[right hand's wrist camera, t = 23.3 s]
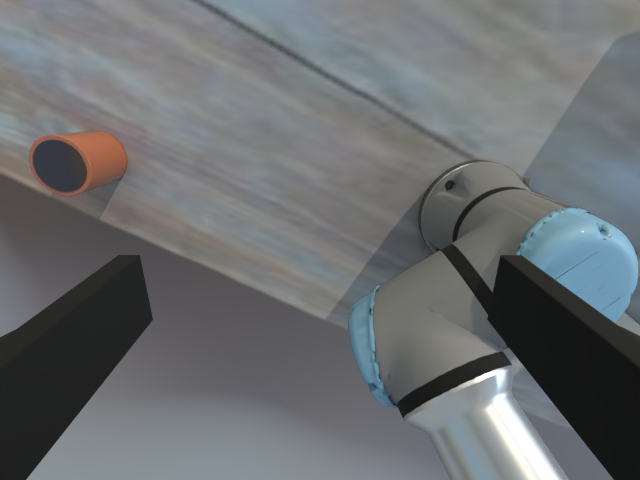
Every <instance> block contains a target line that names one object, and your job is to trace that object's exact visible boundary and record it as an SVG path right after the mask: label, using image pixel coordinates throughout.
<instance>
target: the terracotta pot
mask: <svg viewBox="0 0 640 480" xmlns="http://www.w3.org/2000/svg"><path fill="white" fill-rule="evenodd" d="M29 163H30V167H31V170H32V172H33V174H34V175H35V177H36V178H37V180H38V181H39V182H40V183H41V184H42V185H43V186H44V187H45V188H47V189H48V190H50V191H52V192H54V193H56V194H59V195H64V196H74V195H78V194H80V193H83V192H86V191H89V190H92V189H95V188H97V187H100V186H103V185H106V184H109V183H111V182H114V181H117V180H118V179H120V178H121V177H122V176H123V175H124V173H125V171H126V168H127V157H126V153H125V151H124V149H123V147H122V146H121V144H120V143H119V142H118V141H117V140H116V139H115V138H114V137H113V136H111V135H109V134H107V133H105V132H102V131H85V132H75V133H65V134H54V135H46V136H43V137H41V138H39V139H38V140H36V141H35V142H34V144H33V145H32V147H31V149H30V153H29Z"/></svg>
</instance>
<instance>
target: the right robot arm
mask: <svg viewBox="0 0 640 480" xmlns="http://www.w3.org/2000/svg"><path fill="white" fill-rule="evenodd" d="M529 180H530V179H528V178H525V177H523V178H522V177H521V176H520V175H519V174H517V173H516V172H515V171H513V170H512V169H510V168H509V167H507V166H504V165H502V164H499V163H495V162H491V161H483V160H478V161H469V162H465V163H462V164H459V165H457V166H455V167H453V168H451V169H449V170H447V171H446V172H444V173H443V174H442V175H441V176H439V177H438V178H437V179H436V180H435V181H434V183H433V184H432V185H431V186H430V188H429V189H428V191H427V192H426V194H425V196H424V198H423V201H422V203H421V207H420V212H419V226H420V231H421V234H422V236H423V239H424V240H425V242H426V244H427V245H428V246H429V248H430V249H431V250H432V251H433V252H434V254H432V255H431V256H429V257H428V258H426V259H424V260H423V261H421V262H419V263H417V264H416V265H414V266H412V267H411V268H409V269H407V270H405V271H404V272H402V273H400V274H399V275H397V276H395V277H393V278H392V279H390V280H388V281H387V282H385V283H383V284H379V285H377V286H376V287H375V288H374V290H373V291H371V292H370V293H368V294H367V295H365V296H364V297H362V298H361V299H359V300H358V301H357V302H356V303H355V304H354V305H353V306H352V308H351V311H350V314H349V320H348V330H349V337H350V342H351V346H352V350H353V354H354V357H355V360H356V363H357V365H358V368H359V371H360V373H361V375H362V377H363V379H364V381H365V382H366V383H368V385H369V388H370V392H371V393H372V395H373V396H374V398H375V399H376V400H377V401H378V402H379V403H380V404H381V405H382V406H384V407H392V408H396V407H398V408H399V410H400V413H401V415H402V417H403V419H404V421H405V422H406V423H408V424H410V425H412V426H414V427H417V428H419V429H421V430H423V431H424V432H425V433H427V434H428V435H429V437H430V439H431V441H432V443H433V445H434V447H435V449H436V451H437V453H438V455H439V457H440V459H441V461H442V463H443V465H444V467H445V469H446V471H447V473H448V475H449V477H450V479H451V480H569V479H568V478H567V476H566V475H565V473H564V472H563V470H562V469H561V467H560V466H559V464H558V463H557V461H556V460H555V458H554V457H553V455H552V454H551V452H550V451H549V449H548V448H547V446H546V445H545V443H544V442H543V440H542V439H541V437H540V436H539V434H538V433H537V431H536V430H535V428H534V427H533V425H532V424H531V422H530V421H529V419H528V418H527V416H526V415H525V413H524V412H523V410H522V409H521V407H520V406H519V404H518V403H517V401H516V400H515V398H514V397H513V394H512V384H513V377H514V371H515V368H514V367H513V365H512V364H511V363H510V361H509V360H508V358H507V357H506V355H505V354H504V352H503V350H505V349H507V348H508V347H509V348H510V349H511V350H512V352H513V353H514V354H515V355H516V357H517V358H518V359H519V360H520V362H521V363H522V364H523V366H524V367H525V368H526V369H527V371H528V372H529V373H530V374H531V376H532V377H533V378H534V379H535V381H536V382H537V383H538V384H539V386H540V387H541V388H542V389H543V391H544V392H545V393H546V395H547V396H548V397H549V398H550V400H551V401H552V402H553V403H554V405H555V406H556V407H557V408H558V410H559V411H560V412H561V413H562V415H563V416H564V417H565V418H566V420H567V421H568V422H569V424H570V425H571V426H572V427H573V429H574V430H575V431H576V432H577V434H578V435H579V436H580V437H581V439H582V440H583V441H584V442H585V444H586V445H587V446H588V448H589V449H590V450H591V451H592V453H593V454H594V455H595V456H596V458H597V459H598V460H599V461H600V463H601V464H602V465H603V466H604V468H605V469H606V470H607V471H608V473H609V474H610V475H611V477H612V478H613V479H614V480H640V336H639V335H637V334H635V333H633V332H631V331H629V330H627V329H625V328H623V327H621V326H618V325H617V324H615V322H616V321H617V320H618V319H619V318H620V317H621V316H622V314H623V313H624V311H625V310H626V308H627V307H628V305H629V303H630V298H631V295H632V294H633V292H634V290H635V289H636V285H637V280H638V261H637V256H636V253H635V251H634V248H633V246H632V244H631V243H630V241H629V240H628V238H627V237H626V236H625V235H624V234H623V233H622V232H621V231H620V230H619V229H617V228H616V227H614V226H613V225H611V224H609V223H607V222H605V221H603V220H601V219H599V218H597V217H596V216H594V215H593V214H592V213H590V212H588V211H586V210H583V209H578V208H573V207H570V206H568V205H565V204H563V203H560V202H557V201H555V200H552V199H549V198H547V197H544V196H542V195H539V194H536V193H534V192H531V191H530V189H529V187H528V186H529ZM152 320H153V318H152V313H151V308H150V303H149V298H148V294H147V289H146V284H145V279H144V274H143V269H142V264H141V259H140V255H118V256H117V257H115V258H114V259H113V260H111V261H110V262H109V263H107V264H106V265H104V266H103V267H102V268H100V269H99V270H98V271H96V272H95V273H93V274H92V275H91V276H89V277H88V278H86V279H85V280H84V281H82V282H81V283H80V284H78V285H77V286H76V287H74V288H73V289H71V290H70V291H69V292H67V293H66V294H64V295H63V296H62V297H60V298H59V299H58V300H56V301H55V302H53V303H52V304H51V305H49V306H48V307H47V308H45V309H44V310H43V311H41V312H40V313H38V314H37V315H36V316H34V317H33V318H32V319H30V320H29V321H27V322H26V323H25V324H23V325H22V326H21V327H19V328H18V329H16V330H14V331H12V332H10V333H8V334H6V335H4V336H2V337H0V480H26V479H27V478H28V476H29V475H30V474H31V473H32V471H33V470H34V469H35V468H36V466H37V465H38V464H39V463H40V461H41V460H42V459H43V458H44V456H45V455H46V454H47V453H48V451H49V450H50V449H51V448H52V446H53V445H54V444H55V442H56V441H57V440H58V439H59V437H60V436H61V435H62V434H63V432H64V431H65V430H66V429H67V427H68V426H69V425H70V424H71V422H72V421H73V420H74V418H75V417H76V416H77V415H78V413H79V412H80V411H81V410H82V408H83V407H84V406H85V405H86V403H87V402H88V401H89V400H90V398H91V397H92V396H93V394H94V393H95V392H96V391H97V389H98V388H99V387H100V386H101V384H102V383H103V382H104V381H105V379H106V378H107V377H108V376H109V374H110V373H111V372H112V371H113V369H114V368H115V367H116V365H117V364H118V363H119V362H120V360H121V359H122V358H123V357H124V355H125V354H126V353H127V352H128V350H129V349H130V348H131V347H132V345H133V344H134V343H135V341H136V340H137V339H138V338H139V336H140V335H141V334H142V333H143V331H144V330H145V329H146V328H147V326H148V325H149V324H150V323H151V321H152Z"/></svg>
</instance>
